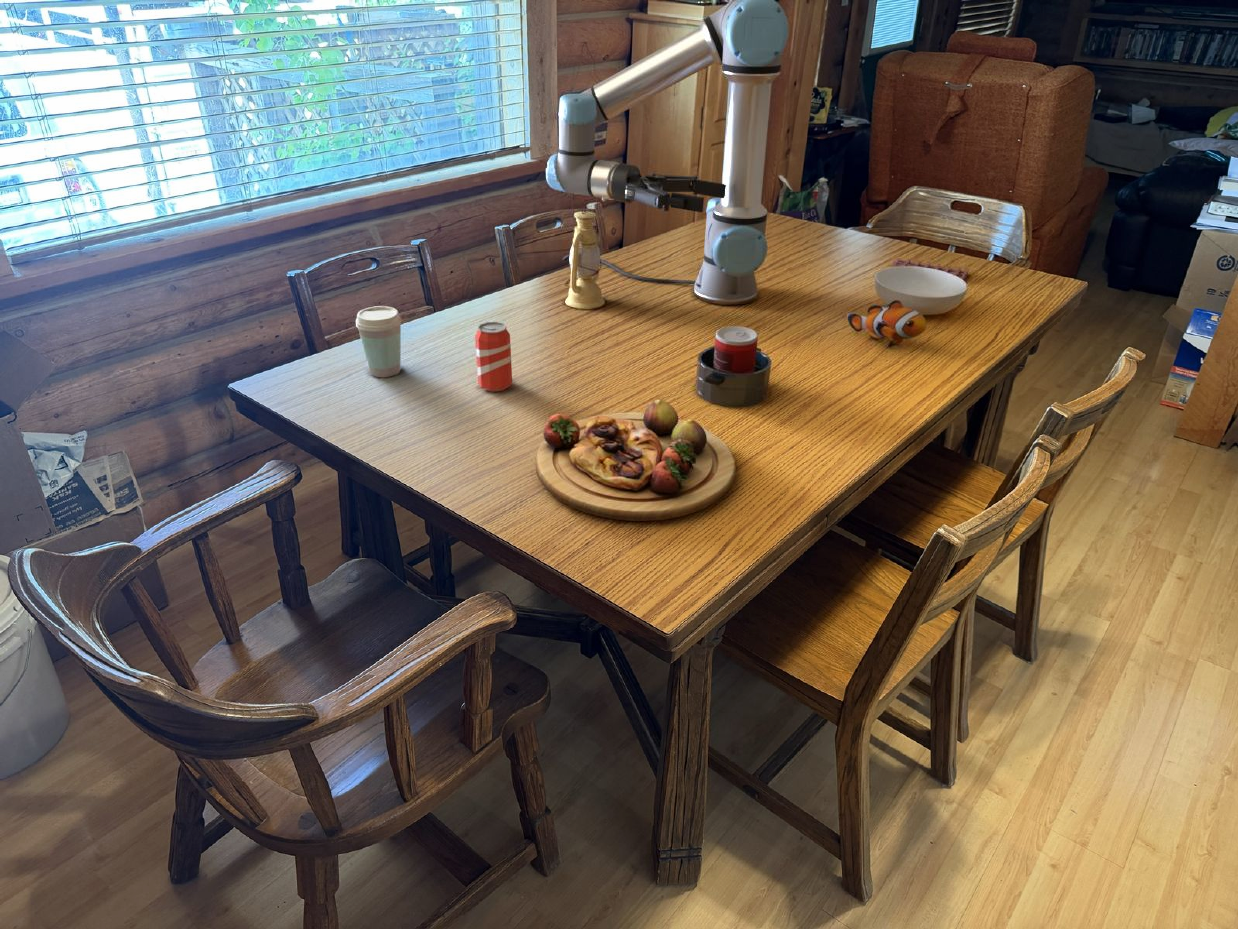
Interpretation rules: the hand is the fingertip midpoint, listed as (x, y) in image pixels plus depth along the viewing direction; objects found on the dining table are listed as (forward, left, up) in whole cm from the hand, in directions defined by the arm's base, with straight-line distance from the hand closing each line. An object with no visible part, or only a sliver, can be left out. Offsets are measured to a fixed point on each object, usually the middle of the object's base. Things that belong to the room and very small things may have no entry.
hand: (714, 197), depth 174 cm
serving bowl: (+33, +44, -30) cm, 63 cm away
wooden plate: (+17, -56, -30) cm, 65 cm away
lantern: (-33, +2, -30) cm, 45 cm away
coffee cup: (-43, -52, -30) cm, 74 cm away
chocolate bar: (+28, +72, -30) cm, 83 cm away
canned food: (+17, -21, -29) cm, 39 cm away
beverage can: (-21, -45, -30) cm, 58 cm away
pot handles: (+17, -21, -25) cm, 36 cm away
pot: (+17, -21, -30) cm, 40 cm away
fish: (+33, +19, -30) cm, 48 cm away
